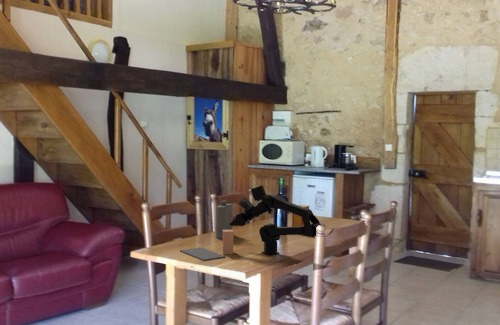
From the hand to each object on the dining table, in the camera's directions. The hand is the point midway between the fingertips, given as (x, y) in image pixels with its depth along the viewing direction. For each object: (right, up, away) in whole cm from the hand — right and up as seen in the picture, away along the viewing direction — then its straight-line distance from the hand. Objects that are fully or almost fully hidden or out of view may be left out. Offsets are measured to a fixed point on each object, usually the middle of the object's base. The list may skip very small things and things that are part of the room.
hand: (233, 222), depth 268 cm
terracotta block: (-2, -14, -8) cm, 16 cm away
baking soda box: (+38, -11, +45) cm, 60 cm away
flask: (-6, -12, +31) cm, 34 cm away
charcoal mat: (-14, -14, -12) cm, 23 cm away
